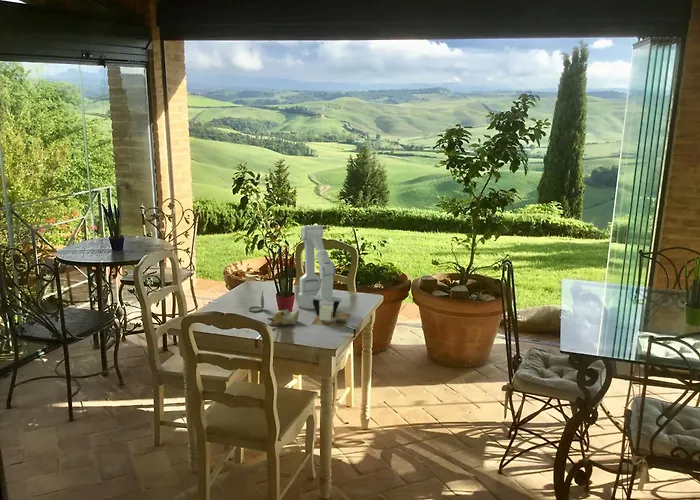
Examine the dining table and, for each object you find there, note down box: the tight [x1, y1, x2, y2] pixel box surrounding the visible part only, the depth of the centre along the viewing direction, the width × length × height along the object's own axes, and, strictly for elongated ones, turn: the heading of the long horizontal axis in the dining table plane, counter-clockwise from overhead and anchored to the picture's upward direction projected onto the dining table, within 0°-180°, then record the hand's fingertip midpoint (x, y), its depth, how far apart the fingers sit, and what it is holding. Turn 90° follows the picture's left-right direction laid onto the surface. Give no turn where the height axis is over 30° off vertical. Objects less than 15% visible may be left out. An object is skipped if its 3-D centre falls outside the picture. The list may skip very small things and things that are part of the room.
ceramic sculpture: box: [267, 307, 300, 328], centre depth 271 cm, size 11×9×15 cm
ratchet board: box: [311, 310, 351, 328], centre depth 278 cm, size 16×19×6 cm
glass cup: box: [248, 290, 265, 313], centre depth 291 cm, size 8×8×10 cm
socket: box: [319, 304, 333, 321], centre depth 274 cm, size 5×5×6 cm
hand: (326, 315), depth 274 cm, fingers open, 7 cm apart
